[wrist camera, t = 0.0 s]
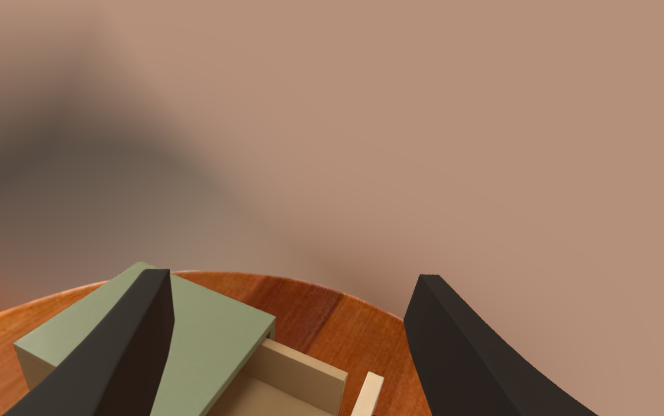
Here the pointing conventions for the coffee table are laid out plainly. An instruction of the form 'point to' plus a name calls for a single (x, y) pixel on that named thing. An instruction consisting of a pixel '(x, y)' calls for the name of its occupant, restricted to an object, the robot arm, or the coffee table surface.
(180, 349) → the cabinet
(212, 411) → the drawer
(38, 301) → the coffee table surface
